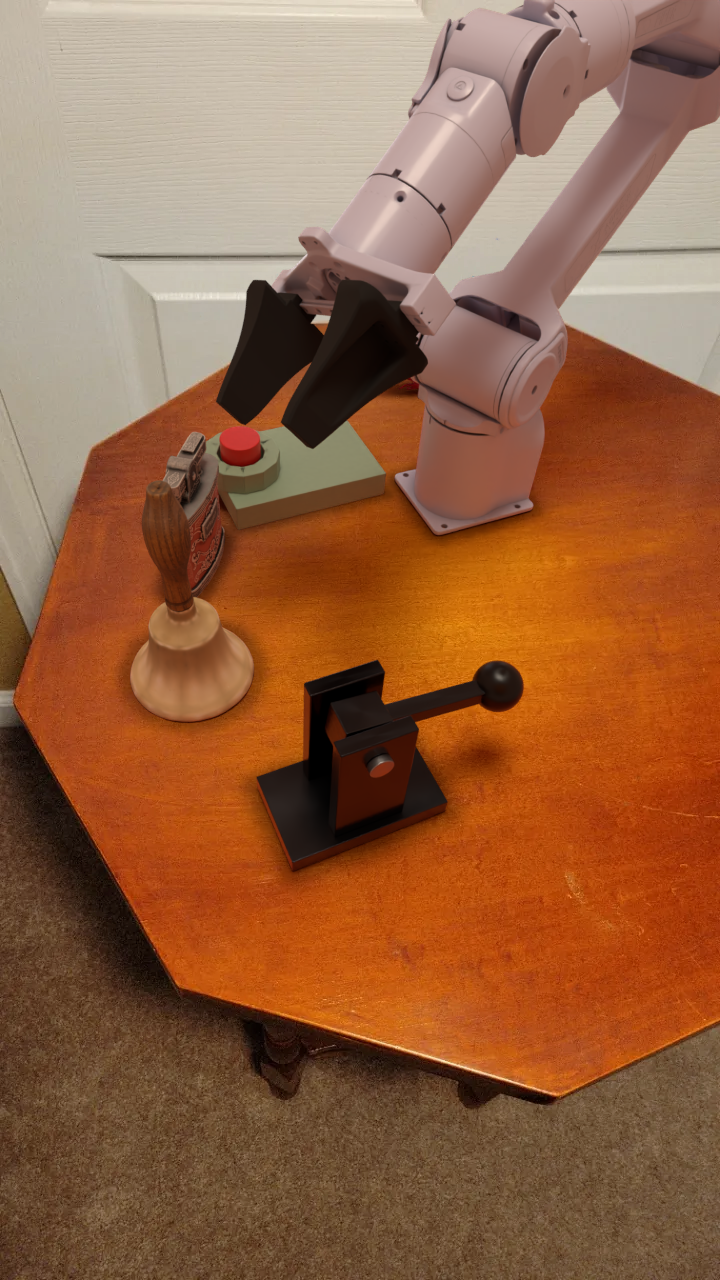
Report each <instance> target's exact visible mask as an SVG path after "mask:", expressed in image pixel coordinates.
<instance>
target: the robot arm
mask: <svg viewBox="0 0 720 1280" xmlns="http://www.w3.org/2000/svg"><path fill="white" fill-rule="evenodd" d="M604 89H606V91H607V93H608V95H609V96H610V97H611V99H612V100H613V102H614V104H615V105H616V107H617V108H618V110H619V113H618V115H617V117H616V118H615V119H614V120H613V122H612V123H611V125H610V126H609V127H608V128H607V130H606V131H605V133H604V134H603V135H602V136H601V138H600V139H599V140H598V142H597V143H596V144H595V146H594V147H593V148H592V150H591V151H590V152H589V154H588V155H587V157H586V158H585V159H584V161H583V162H582V163H581V165H580V166H579V167H578V169H577V170H576V171H575V173H574V174H573V175H572V177H571V178H570V180H569V181H568V182H567V184H566V185H565V186H564V188H563V189H562V190H561V192H560V193H559V194H558V195H557V197H556V198H555V199H554V201H553V202H552V203H551V205H550V206H549V207H548V209H547V210H546V212H545V213H544V214H543V216H542V217H541V218H540V220H539V221H538V222H537V224H536V225H534V227H533V229H532V230H531V231H530V233H529V234H528V236H526V238H525V240H524V241H523V242H522V243H521V245H520V246H519V248H518V249H517V250H516V252H515V253H514V254H513V256H512V257H511V258H510V260H509V261H508V262H507V263H506V265H505V266H504V267H503V268H502V270H498V271H494V272H491V273H485V274H481V275H476V276H471V277H467V278H463V279H461V280H459V281H458V282H457V283H456V284H455V285H454V287H453V288H452V289H451V291H450V292H448V291H447V289H446V288H445V286H444V285H443V284H442V282H441V281H440V279H439V278H438V277H437V275H436V274H435V273H436V272H437V270H439V268H440V266H441V265H442V263H443V262H444V261H445V259H446V258H447V256H448V255H449V253H450V252H451V251H452V249H453V248H454V247H455V245H456V244H457V243H458V241H459V239H460V238H461V237H462V235H463V234H464V232H465V231H466V230H467V228H468V226H469V225H470V224H471V222H472V221H473V219H474V218H475V217H476V215H477V214H478V212H479V211H480V209H481V208H482V207H483V205H484V204H485V202H486V201H487V200H488V198H489V197H490V196H491V194H492V192H493V191H494V190H495V188H496V187H497V185H498V184H499V183H500V181H501V180H502V178H503V177H504V175H505V174H506V172H507V171H508V169H509V168H510V167H511V165H512V164H513V163H514V161H515V160H516V158H517V155H518V156H524V155H526V156H528V157H530V158H536V157H539V156H546V155H547V153H548V152H549V151H550V150H551V149H552V147H553V146H554V144H555V143H556V141H557V140H558V139H559V137H560V135H561V133H562V132H563V130H564V128H565V125H566V124H567V123H568V122H569V120H570V119H571V118H572V117H574V116H575V114H576V111H577V110H578V109H579V107H580V104H582V103H583V102H584V101H586V100H587V99H590V98H591V97H592V96H594V95H596V94H598V93H599V92H600V91H602V90H604ZM407 116H408V120H407V122H406V123H405V124H404V125H403V126H402V129H401V130H400V131H399V133H398V134H397V136H396V137H395V139H394V140H393V141H392V143H391V144H390V146H389V147H388V148H387V149H386V151H385V153H384V154H383V155H382V157H381V158H380V159H379V161H378V162H377V163H376V165H375V167H374V168H373V170H372V171H371V172H370V174H369V175H368V176H367V178H366V179H365V181H364V182H363V184H362V185H361V186H360V188H359V189H358V190H357V192H356V193H355V195H354V197H353V198H352V199H351V200H350V202H349V204H348V205H347V206H346V208H344V211H343V212H342V213H341V214H340V216H339V217H338V218H337V220H336V222H335V223H334V224H333V226H332V227H331V229H329V231H327V230H326V229H324V228H323V227H321V226H306V227H304V228H303V230H302V231H301V232H300V234H299V235H298V238H297V239H298V242H299V244H300V245H301V246H302V247H303V248H304V250H305V251H306V254H305V255H304V256H302V258H301V259H300V260H299V261H298V262H297V263H296V264H295V265H294V266H293V267H291V268H288V269H282V270H281V272H280V273H279V274H278V276H277V277H276V279H275V280H274V281H273V283H272V284H270V283H269V282H268V281H267V280H266V279H252V281H251V282H250V283H249V285H248V287H247V289H246V293H245V308H244V309H245V310H244V316H243V321H242V327H241V330H240V333H239V338H238V341H237V344H236V347H235V350H234V353H233V356H232V358H231V361H230V362H229V365H228V368H227V370H226V373H225V376H224V378H223V379H222V383H221V384H220V385H221V386H220V388H219V391H218V393H217V397H216V400H215V403H216V404H217V405H218V406H219V407H221V408H222V409H223V410H224V411H225V412H226V413H228V414H229V415H230V416H231V417H232V418H233V419H234V420H236V422H238V423H239V424H241V425H243V426H247V425H248V424H249V423H250V422H252V421H253V420H254V419H255V418H256V417H258V415H260V414H261V412H263V410H264V409H265V408H266V407H267V406H268V405H269V404H270V402H271V401H272V400H273V399H274V398H275V396H277V394H278V393H279V392H280V390H282V388H284V386H285V385H286V384H287V383H288V382H289V381H290V380H291V379H292V378H293V377H295V376H296V375H297V374H298V373H299V372H301V371H302V370H304V368H306V367H307V366H308V368H307V369H306V371H305V373H304V375H303V376H302V378H301V379H300V381H299V383H298V384H297V387H296V388H295V390H294V392H293V394H292V395H291V397H290V399H289V401H288V403H287V405H286V407H285V409H284V412H283V415H282V418H281V420H280V424H282V426H285V427H286V428H287V429H288V430H289V431H290V432H291V433H292V434H294V435H295V436H296V437H297V438H298V439H299V440H300V441H301V442H302V443H303V444H304V445H305V446H306V447H308V448H311V449H314V448H315V447H317V446H318V445H319V444H320V443H322V442H323V441H324V440H325V439H326V438H327V437H329V436H330V435H331V434H332V433H333V432H334V431H335V430H337V429H338V428H339V427H340V426H341V425H342V424H343V423H345V422H346V421H348V420H349V419H351V418H352V417H354V415H355V414H356V413H357V412H359V411H361V409H363V408H364V407H365V406H366V405H367V404H369V403H370V402H372V401H373V400H374V399H376V398H378V397H379V396H380V395H382V394H383V393H385V392H386V391H388V390H389V389H391V388H393V387H395V386H397V385H399V384H400V383H403V382H404V381H406V380H407V379H409V378H411V379H412V380H413V381H414V382H416V383H418V384H419V389H418V392H417V398H418V399H419V400H420V401H422V402H423V403H424V410H423V417H422V424H421V429H420V430H421V431H420V438H419V445H418V452H417V459H416V466H415V468H414V469H410V470H406V471H402V472H398V473H396V474H395V475H394V481H395V483H396V484H397V486H398V487H399V488H400V490H401V491H402V492H403V494H404V495H405V497H406V498H407V499H408V501H409V502H410V503H411V504H412V506H413V507H414V509H415V510H416V512H417V513H418V514H419V516H420V517H421V518H422V520H423V521H424V522H425V524H426V525H427V526H428V528H429V530H430V531H431V532H432V533H433V534H434V535H437V536H443V535H445V534H450V533H452V532H453V533H454V532H457V531H459V530H460V531H461V530H465V529H467V528H471V527H475V526H479V525H482V524H485V523H489V522H493V521H497V520H501V519H504V518H508V517H512V516H515V515H518V514H522V513H526V512H529V511H532V510H533V508H534V503H533V502H532V500H530V494H531V491H532V488H533V484H534V481H535V477H536V474H537V473H536V472H537V470H538V466H539V462H540V458H541V455H542V452H543V448H544V444H545V436H546V435H545V434H546V433H545V430H546V429H545V421H544V417H543V413H542V410H541V407H542V405H543V404H544V403H545V401H546V399H547V397H548V395H549V393H550V391H551V388H552V386H553V383H554V381H555V380H556V377H557V376H558V374H559V372H560V371H561V369H562V368H563V366H564V364H565V362H566V359H567V352H568V345H569V344H568V342H569V340H568V339H569V338H568V330H567V327H566V324H565V321H564V319H563V317H562V315H561V313H560V308H561V307H562V306H563V304H564V303H565V301H566V300H567V299H568V298H569V296H570V295H571V293H572V292H573V291H574V290H575V288H576V286H578V284H579V282H580V281H581V280H582V279H583V277H584V276H585V274H586V273H587V272H588V270H589V269H590V267H592V265H593V264H594V262H595V261H596V260H597V258H598V257H599V256H600V254H601V253H602V252H603V250H604V249H605V247H606V246H607V245H608V243H609V242H610V241H611V239H612V238H613V236H614V235H615V234H616V232H617V231H618V230H619V228H620V227H621V225H622V224H623V223H624V222H625V220H626V219H627V217H628V216H629V215H630V213H631V212H632V211H633V209H634V208H635V206H636V205H637V204H638V202H639V201H640V200H641V199H642V197H643V195H644V194H645V193H646V191H648V189H649V187H650V186H651V185H652V183H654V181H655V180H656V178H657V177H658V175H659V174H660V172H661V171H662V170H663V169H664V167H665V166H666V164H667V163H668V162H669V160H670V159H671V158H672V156H673V155H674V154H675V152H676V151H677V150H678V148H679V147H680V146H681V144H682V142H683V141H684V140H685V138H686V137H687V136H688V135H689V133H690V132H692V131H694V130H697V129H700V128H703V127H705V126H708V125H710V124H713V123H716V122H717V121H718V119H719V118H720V0H523V4H521V5H519V6H517V7H515V8H513V9H511V10H510V11H508V12H506V13H503V12H499V11H495V10H492V9H487V8H483V7H478V8H474V9H472V10H471V11H469V12H468V13H467V14H466V15H465V16H462V17H459V18H457V19H455V20H453V21H452V18H450V17H449V18H447V20H446V21H445V23H444V24H443V26H442V28H441V30H440V32H439V34H438V37H437V38H436V40H435V43H434V46H433V49H432V52H431V56H430V60H429V64H428V68H427V72H426V74H425V77H424V79H423V81H422V83H421V85H420V86H419V88H418V89H417V90H416V92H415V93H414V95H413V96H412V98H411V105H410V106H409V108H408V112H407ZM317 316H325V317H329V320H328V323H327V327H326V329H325V331H324V333H323V332H322V331H321V330H320V329H319V328H318V327H317V325H315V323H312V322H313V321H314V320H315V318H316V317H317Z"/></svg>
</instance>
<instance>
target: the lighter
mask: <svg viewBox="0 0 720 1280" xmlns="http://www.w3.org/2000/svg"><path fill="white" fill-rule="evenodd" d="M206 441H207V439H206V435H205V434H203V433H201V432H197V431H192V432H191V433H190V434H189V435H188V436H187V438H186V439H185V441H184V443H183V445H182V446H181V448H180V450H179V451H178V453H177V455H170V456H169V457H168V459H167V462H166V468H165V474H164V475H165V476H164V478H162V480H161V481H165V482H167V483H168V484H169V485H170V486H171V489H172V491H173V493H174V495H175V497H176V498H177V500H178V502H179V503H180V505H181V506H182V508H183V510H184V512H185V514H186V516H187V519H188V523H189V528H190V535H191V552H190V558H189V562H188V566H187V572H188V578H189V582H190V586H191V590H192V594H193V597H196V598H199V597H200V595H201V594H202V593H203V591H205V589H206V587H207V586H208V585H209V584H210V582H211V580H212V579H213V577H214V575H215V573H216V572H217V570H218V568H219V565H220V562H221V559H222V557H223V554H224V548H225V542H226V534H225V529H224V527H223V526H222V519H221V517H222V516H221V509H220V494H219V492H218V484H217V480H218V475H219V465H218V460H217V458H216V457H214V456H213V455H211V454H208V453H205V451H206Z"/></svg>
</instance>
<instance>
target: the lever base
mask: <svg viewBox="0 0 720 1280" xmlns="http://www.w3.org/2000/svg"><path fill="white" fill-rule="evenodd" d="M385 676H386V671H385V669H384V667H383V666H382V664H381V662H380V661H379V659H375V660H371V661H368V662H365V663H362V664H359V665H356V666H353V667H349V668H346V669H344V670H340V671H337V672H333V673H331V674H327V675H325V676H321V677H318V678H315V679H311V680H309V681H306V682H304V683H303V717H302V718H303V720H302V722H303V724H302V725H303V727H302V728H303V729H302V730H303V731H302V760H301V761H298V762H295V763H292V764H289V765H286V766H283V767H280V768H277V769H274V770H272V771H269V772H266V773H263V774H260V775H257V776H255V777H256V789H257V790H258V793H259V794H260V798H261V800H262V802H263V805H264V808H265V809H266V812H267V814H268V817H269V819H270V821H271V825H272V826H273V829H274V831H275V833H276V836H277V838H278V840H279V842H280V846H281V848H282V850H283V853H284V855H285V858H286V860H287V862H288V864H289V867H290V869H291V871H292V872H295V871H298V870H301V869H302V868H305V867H309V866H310V865H313V864H315V863H318V862H321V861H322V860H325V859H328V858H330V857H333V856H335V855H338V854H341V853H343V852H346V851H348V850H350V849H353V848H356V847H359V846H361V845H364V844H367V843H369V842H371V841H373V840H376V839H379V838H381V837H384V836H386V835H388V834H391V833H393V832H396V831H399V830H401V829H404V828H406V827H409V826H411V825H414V824H416V823H419V822H422V821H424V820H428V818H431V817H434V816H437V815H440V814H442V813H445V812H446V810H447V806H448V803H449V801H448V799H447V797H446V796H445V794H444V792H443V791H442V789H441V787H440V785H439V784H438V782H437V780H436V779H435V777H434V775H433V773H432V771H431V769H430V768H429V766H428V764H427V763H426V761H425V759H424V758H423V755H421V752H420V751H419V749H418V748H417V742H418V738H419V732H420V728H419V726H418V724H417V722H415V721H414V720H413V718H412V716H411V715H410V716H407V717H404V718H401V719H398V720H395V721H393V722H390V723H387V724H384V725H381V726H378V727H375V728H372V729H370V730H367V731H364V732H361V733H358V734H355V735H352V736H349V737H347V738H344V739H341V740H338V741H335V742H334V744H333V745H332V743H331V741H330V739H329V737H328V735H327V733H326V731H325V724H326V720H327V715H328V710H329V706H330V703H331V702H334V701H338V700H342V699H346V698H349V697H353V696H357V695H361V694H365V693H368V692H372V691H377V692H378V694H379V696H380V697H381V699H382V700H383V692H384V684H385Z"/></svg>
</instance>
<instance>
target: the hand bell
mask: <svg viewBox="0 0 720 1280" xmlns="http://www.w3.org/2000/svg"><path fill="white" fill-rule="evenodd" d="M141 514H142V515H141V531H142V535H143V537H142V538H143V541H144V544H145V547H146V550H147V553H148V555H149V557H150V558H151V561H152V562H153V564H154V566H155V567H156V568H157V569H158V571H159V574H160V576H161V580H162V588H163V595H164V602H163V603H161V604H160V605H158V606H157V608H155V610H154V611H153V613H152V614H151V616H150V618H149V621H148V627H147V628H148V640H147V641H146V642H145V643H144V644H143V645H142V646H141V648H140V649H139V650H138V652H137V653H136V655H135V657H134V659H133V661H132V664H131V667H130V673H129V674H130V675H129V680H130V687H131V690H132V692H133V695H134V696H135V698H136V700H137V701H138V703H139V704H140V705H141V706H142V707H143V708H144V709H145V710H147V711H148V712H150V713H151V714H153V715H155V716H157V717H159V718H162V719H165V720H168V721H175V722H183V723H186V722H187V723H188V722H189V723H191V722H200V721H204V720H209V719H212V718H216V717H217V716H220V715H222V714H224V713H225V712H228V711H229V710H230V709H232V708H233V707H234V706H236V705H237V704H238V703H240V701H241V700H242V699H243V698H244V697H245V696H246V695H247V693H248V691H249V689H250V688H251V685H252V682H253V679H254V673H255V664H254V658H253V656H252V653H251V650H250V649H249V647H248V646H247V645H246V643H245V642H244V641H243V640H242V639H241V638H240V637H239V636H238V635H236V633H234V632H232V631H230V629H227V628H225V627H223V625H222V622H221V619H220V616H219V613H218V611H217V609H216V608H215V607H214V606H213V605H212V604H211V603H210V602H208V601H207V600H205V599H202V598H199V597H197V598H196V597H193V594H192V590H191V586H190V582H189V578H188V572H187V566H188V562H189V558H190V552H191V535H190V528H189V523H188V519H187V516H186V514H185V512H184V510H183V508H182V506H181V505H180V503H179V502H178V500H177V498H176V497H175V495H174V493H173V491H172V489H171V486H170V485H169V484H168V483H167V482H165V481H162V480H158V479H157V480H153V481H151V482H150V483H148V484H147V486H146V488H145V501H144V505H143V510H142V513H141Z"/></svg>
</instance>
